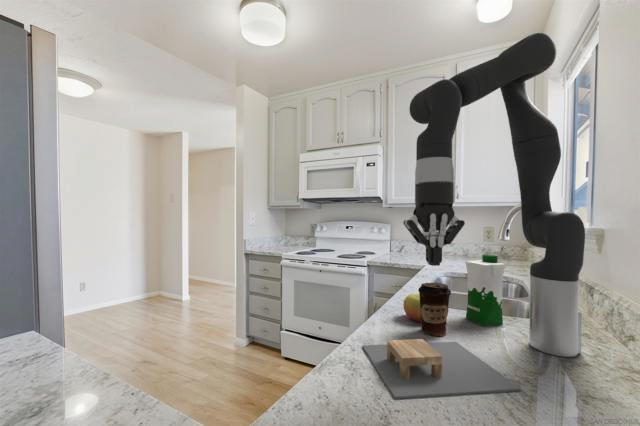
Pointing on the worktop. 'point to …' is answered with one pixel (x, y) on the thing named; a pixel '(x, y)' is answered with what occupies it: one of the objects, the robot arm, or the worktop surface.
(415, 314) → the apple
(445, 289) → the coffee cup
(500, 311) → the milk carton
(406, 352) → the wooden bench
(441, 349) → the mat
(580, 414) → the worktop surface
